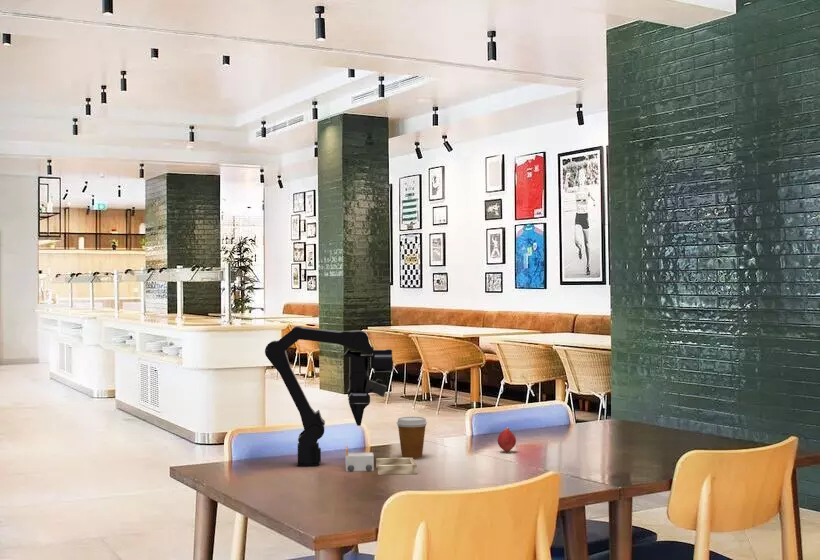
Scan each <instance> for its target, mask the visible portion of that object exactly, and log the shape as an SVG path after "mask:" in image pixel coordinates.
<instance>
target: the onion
mask: <svg viewBox="0 0 820 560" xmlns="http://www.w3.org/2000/svg"><path fill="white" fill-rule="evenodd" d="M497 444H498V446H499V448H500V449H502V450H503V451H504V452H505V453H509V452H510V451H511V450H512V449H513V448H514V447H515V446H516V444H517V437H516V435H515V434H514V433H513V431H510V429H509V427H508V426H507V427H506V428H505V429H504V430H502V431H501V433H499V435H498V437H497Z"/></svg>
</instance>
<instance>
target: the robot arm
mask: <svg viewBox="0 0 820 560" xmlns="http://www.w3.org/2000/svg"><path fill="white" fill-rule="evenodd" d="M300 340H302V341H303V340H304V341H311V342H320V343H329V344H337V345H341V346H343V347H346V348H347V350H346V351H345V353H343V354H342V356H343V357H344V358H348V359H349V361H348V363H349V365H348V366H349V367H348V369H349V372H348V380H349V381H348V390H347V397H348V398H347V400H348V405H349V407H350V410H351V414H352V417H353V418H354V421H355V424H356V426H358V427H361V426H362V421H363V418H364V417H363V416H364V412H365V409H366V408H367V407H368V406H369V405H370V403H371V396H370V395H369V394H370V393H373V394H376V395H379V397H383V398H384V397H385V394H386V392H387V389H388V386H387V385H385V384H384V383H383V380H382V379H379V378H377V379H376V380H375V381H374V380H373V379H372V380H371V378H370V376H369V367H370V369H372V370H373V372H374V373H381V372H382V373H393V369H394V360H393V350H392V349H391V348H390V349H374V346H372V345H371V344H370V343H369V341H370V340H369V335H368V334H367V333H366V332H365V331H363V330H360V329H356V330H355V329H352V330H342V331H341V330H340V331H339V330H337V331H336V330H329V329H320V328H319V329H318V328H312V327H311V328H310V327H303V326H299V325H298V326H294V327H293V328H291V330H290V331H288V332H287V333H286V334H285V335H283V336H282V337H281V338H280V339H278V340H272V341H271V342H269V343H267V345H266V346H265V349H264V354H265V357H266V358H267V359H268V360H269V362H270V363H271V364H272V366H273V368H274V369H276V370H277V372H278V374H279V375H280V377H281V379H282V382H283V384H284V385H285V387H286V389H287V391H288V393H289V395H290V397H291V399H292V400H293V403H294V405H295V406H296V408H297V411H298V413H299V415H300V419H301V423H302V426H303V430H302V432H300V433H299V434H298V439H297V441H298V443H297V463H296V466H297V467H309V466H310V467H311V466H313V467H316V466H320V463H321V462H322V458H321V456H322V450H321V447H320V446H319V445H320V444H319V442H318V440H320V439H321V438H322V437H323V436H324V433H325V425H326V421H325V419H324V418H323V417H322V415H321V412H320V409H318V410H317V411H315V410H314V409H313V407H312V406H311V404H310V402H309V401H308V399H307V397H306V395H305V393H304V391H303V389H302V386H301V385H300V383H299V381H298V379H297V377H296V375H295V373H294V371H293V369H292V366H291V364H290V361H289V356H288V353H287V350H288V349H290V347H291V346H293V345H294V344H295V343H297V342H298V341H300ZM350 349H354V350H357V351H354V350H353V351H351V350H350ZM361 350H362V351H363V352H365V353H367V354H362V351H361ZM369 358H370V360H369ZM369 361H370V362H369ZM369 364H370V366H369Z"/></svg>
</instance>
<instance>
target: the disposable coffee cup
mask: <svg viewBox="0 0 820 560" xmlns="http://www.w3.org/2000/svg"><path fill="white" fill-rule="evenodd" d="M427 423H428V422H427V420H426V417H424V416H402V417H398V419H397V421H396V425H397V428H398V436H399V444H400V451H401V458H416V459H421V458H422V457H423V451H424V442H425V433H426V426H427Z"/></svg>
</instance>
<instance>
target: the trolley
mask: <svg viewBox="0 0 820 560" xmlns="http://www.w3.org/2000/svg"><path fill="white" fill-rule="evenodd" d="M348 448H349V447H348V446H345V453H344V454H345V458H344V459H345V472H350V473H351V472H374V469H375V467H374V465H375V464H374V463H375V462H374V461H375V459H374V457H375V456H374V452H349V449H348Z"/></svg>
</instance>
